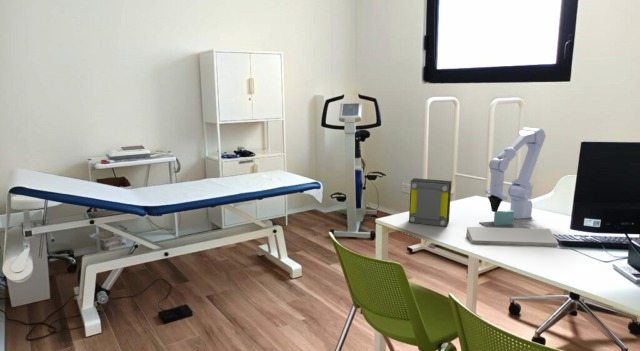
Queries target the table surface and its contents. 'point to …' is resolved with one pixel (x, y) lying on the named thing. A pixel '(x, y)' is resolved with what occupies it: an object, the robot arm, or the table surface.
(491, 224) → the mat
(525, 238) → the bevelled gray strip
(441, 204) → the electrical component
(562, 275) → the table surface
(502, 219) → the card box
